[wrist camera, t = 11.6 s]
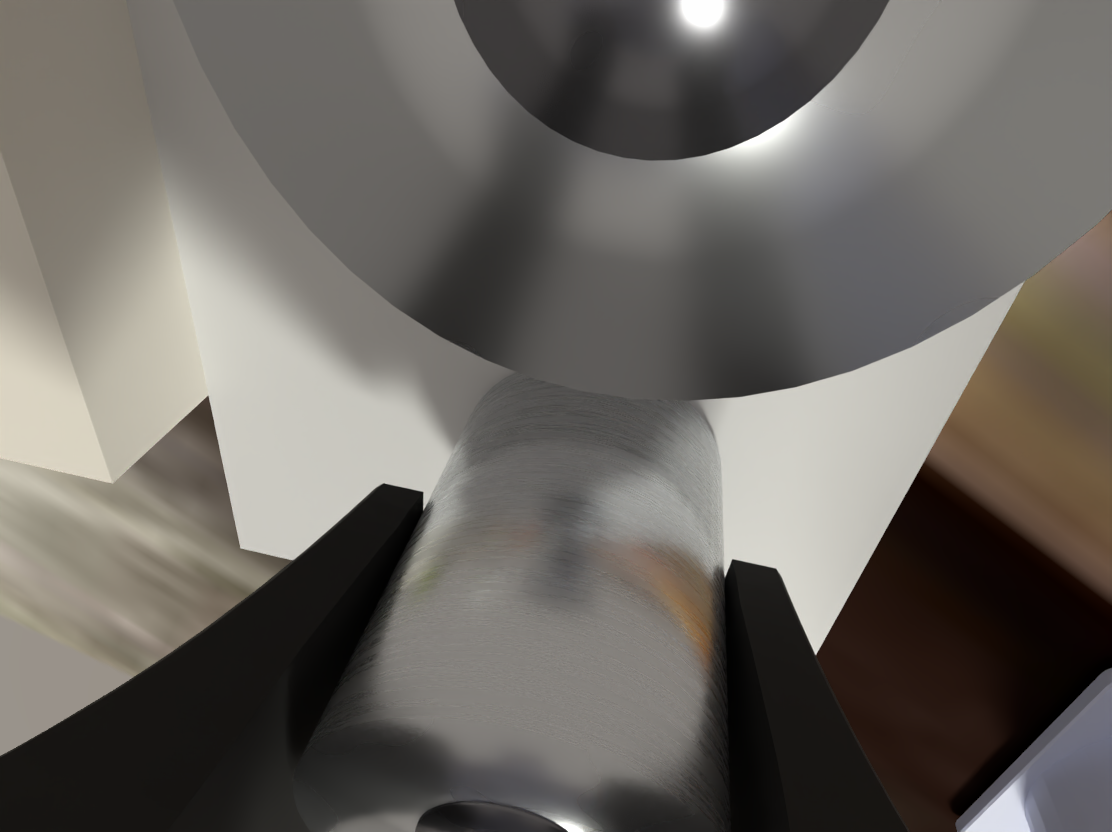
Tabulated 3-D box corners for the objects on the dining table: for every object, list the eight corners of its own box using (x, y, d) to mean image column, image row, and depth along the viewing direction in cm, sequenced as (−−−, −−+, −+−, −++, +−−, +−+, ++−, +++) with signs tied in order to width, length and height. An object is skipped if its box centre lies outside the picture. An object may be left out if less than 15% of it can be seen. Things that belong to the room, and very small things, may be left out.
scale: (1408, -706, 6) (2777, -1955, 2) (778, 610, 17) (799, 829, 13) (-130, -820, 7) (-1192, -1769, 3) (192, 480, 18) (39, 642, 14)
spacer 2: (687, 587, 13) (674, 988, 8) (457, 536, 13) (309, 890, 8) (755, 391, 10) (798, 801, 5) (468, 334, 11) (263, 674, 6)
